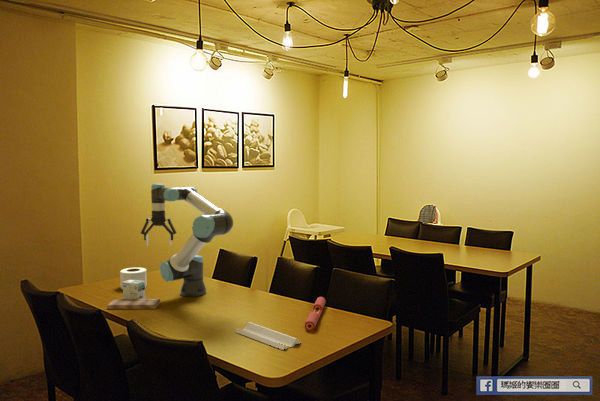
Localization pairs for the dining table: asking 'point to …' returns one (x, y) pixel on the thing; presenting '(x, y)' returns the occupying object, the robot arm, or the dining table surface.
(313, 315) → the blood vessel
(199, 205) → the robot arm
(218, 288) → the dining table surface
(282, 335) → the crown molding
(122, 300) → the walnut board
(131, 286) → the light bulb box
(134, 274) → the toilet paper roll
